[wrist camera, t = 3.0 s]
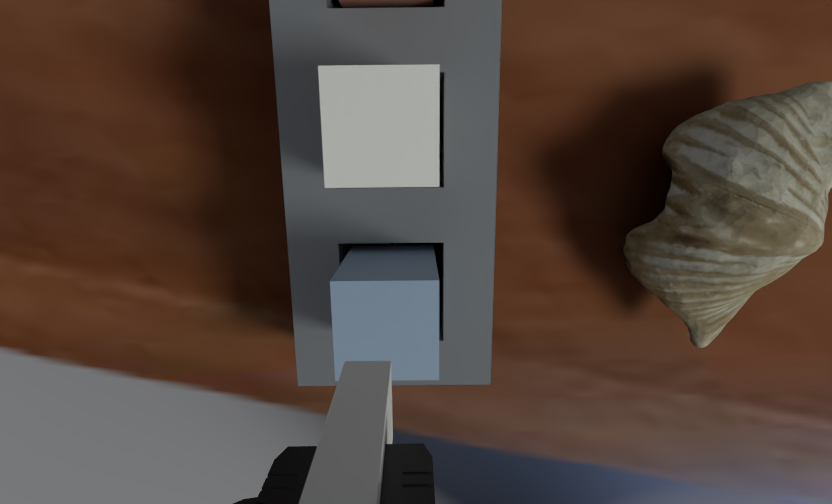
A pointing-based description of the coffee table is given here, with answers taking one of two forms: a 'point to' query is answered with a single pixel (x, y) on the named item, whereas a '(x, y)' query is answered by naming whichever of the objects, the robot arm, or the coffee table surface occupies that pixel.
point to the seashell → (737, 204)
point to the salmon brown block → (385, 3)
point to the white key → (380, 125)
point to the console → (393, 206)
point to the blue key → (387, 310)
